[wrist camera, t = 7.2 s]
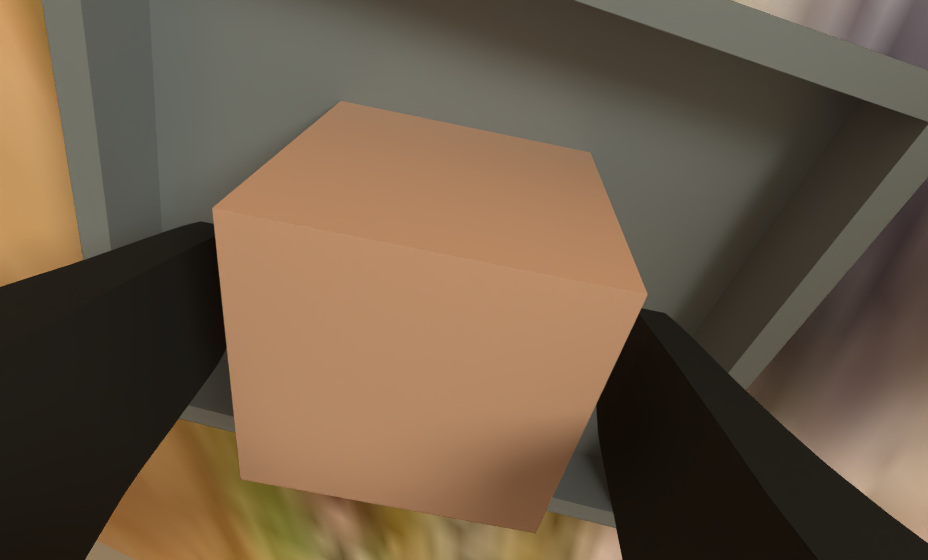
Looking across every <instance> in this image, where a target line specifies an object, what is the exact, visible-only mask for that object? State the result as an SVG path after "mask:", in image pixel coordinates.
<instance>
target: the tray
mask: <svg viewBox="0 0 928 560" xmlns="http://www.w3.org/2000/svg"><path fill="white" fill-rule="evenodd" d="M42 5H43V11H44V17H45V23H46V30H47V36H48V42H49V48H50V55H51V61H52V67H53V73H54V80H55V86H56V92H57V98H58V105H59V111H60V117H61V123H62V129H63V136H64V142H65V148H66V154H67V161H68V167H69V173H70V179H71V186H72V192H73V198H74V204H75V210H76V217H77V223H78V229H79V235H80V242H81V248H82V254H83V260H85V259H88V258H91V257H94V256H97V255H99V254H102V253H105V252H108V251H111V250H114V249H117V248H119V247H122V246H125V245H128V244H131V243H134V242H136V241H139V240H142V239H145V238H148V237H151V236H153V235H156V234H159V233H162V232H165V231H168V230H171V229H174V228H177V227H181V226H184V225H187V224H191V223H195V222H199V221H202V222H207V223H212V224H214V220H213V211H212V208H213V207H214V206H215V205H216V204H218V203H219V202H220V201H221V200H222V199H224V198H225V197H226V196H227V195H228V194H230V193H231V192H232V191H233V190H234V189H236V188H237V187H238V186H239V185H240V184H242V183H243V182H244V181H245V180H246V179H248V178H249V177H250V176H251V175H252V174H254V173H255V172H256V171H257V170H258V169H260V168H261V167H262V166H263V165H264V164H266V163H267V162H268V161H269V160H270V159H272V158H273V157H274V156H275V155H276V154H278V153H279V152H280V151H281V150H282V149H284V148H285V147H286V146H287V145H288V144H290V143H291V142H292V141H293V140H294V139H296V138H297V137H298V136H299V135H300V134H302V133H303V132H304V131H305V130H306V129H308V128H309V127H310V126H311V125H312V124H314V123H315V122H316V121H317V120H318V119H320V118H321V117H322V116H323V115H324V114H326V113H327V112H328V111H329V110H330V109H332V108H333V107H334V106H335V105H336V104H338V103H339V102H340V101H344V102H349V103H354V104H359V105H364V106H368V107H373V108H378V109H383V110H388V111H392V112H397V113H402V114H407V115H412V116H417V117H421V118H426V119H431V120H436V121H441V122H446V123H450V124H455V125H460V126H465V127H470V128H475V129H479V130H484V131H489V132H494V133H499V134H504V135H508V136H513V137H518V138H523V139H528V140H532V141H537V142H542V143H547V144H552V145H557V146H561V147H566V148H571V149H576V150H581V151H586V152H590V153H591V155H592V158H593V160H594V163H595V165H596V168H597V170H598V173H599V175H600V178H601V180H602V182H603V185H604V187H605V190H606V192H607V195H608V197H609V200H610V202H611V205H612V207H613V210H614V212H615V215H616V217H617V220H618V222H619V225H620V227H621V230H622V232H623V235H624V237H625V240H626V242H627V244H628V247H629V249H630V252H631V254H632V257H633V259H634V262H635V264H636V267H637V269H638V272H639V274H640V277H641V279H642V282H643V284H644V287H645V289H646V292H647V294H648V295H647V297H646V299H645V302H644V304H643V306H642V308H643V309H648V310H653V311H658V312H663V313H666V314H667V315H668V316H669V317H671V318H672V319H673V320H674V321H675V322H676V323H677V324H679V325H680V326H681V327H682V328H683V329H684V330H685V331H686V332H687V333H688V334H689V335H690V336H691V337H692V338H693V339H694V340H695V341H696V342H697V343H698V344H699V345H700V346H701V347H702V348H703V349H704V350H705V351H706V352H707V353H708V354H709V355H710V356H711V357H712V358H713V359H714V360H715V361H716V362H717V363H718V364H719V365H720V366H721V367H722V368H723V369H724V370H725V371H726V372H727V373H728V374H729V375H730V376H731V377H732V378H733V379H734V380H735V381H736V382H737V383H739V384H740V385H741V386H742V387H743V388H744V389H745V390H747V388H748V387H749V386H750V385H751V384H752V383H753V381H754V380H755V379H756V378H757V377H758V376H759V374H760V373H761V372H762V371H763V370H764V368H765V367H766V366H767V365H768V364H769V363H770V361H771V360H772V359H773V358H774V357H775V356H776V354H777V353H778V352H779V351H780V350H781V349H782V347H783V346H784V345H785V344H786V343H787V342H788V340H789V339H790V338H791V337H792V336H793V335H794V333H795V332H796V331H797V330H798V329H799V327H800V326H801V325H802V324H803V323H804V322H805V320H806V319H807V318H808V317H809V316H810V315H811V313H812V312H813V311H814V310H815V309H816V308H817V306H818V305H819V304H820V303H821V302H822V301H823V299H824V298H825V297H826V296H827V295H828V294H829V292H830V291H831V290H832V289H833V288H834V287H835V285H836V284H837V283H838V282H839V281H840V279H841V278H842V277H843V276H844V275H845V274H846V272H847V271H848V270H849V269H850V268H851V267H852V265H853V264H854V263H855V262H856V261H857V260H858V258H859V257H860V256H861V255H862V254H863V253H864V251H865V250H866V249H867V248H868V247H869V246H870V244H871V243H872V242H873V241H874V240H875V239H876V237H877V236H878V235H879V234H880V233H881V231H882V230H883V229H884V228H885V227H886V226H887V224H888V223H889V222H890V221H891V220H892V219H893V217H894V216H895V215H896V214H897V213H898V212H899V210H900V209H901V208H902V207H903V206H904V205H905V203H906V202H907V201H908V200H909V199H910V198H911V196H912V195H913V194H914V193H915V192H916V191H917V189H918V188H919V187H920V186H921V185H922V183H923V182H924V181H925V180H926V179H927V178H928V70H926V69H923V68H920V67H917V66H915V65H912V64H909V63H906V62H903V61H900V60H898V59H895V58H892V57H889V56H886V55H883V54H881V53H878V52H875V51H872V50H869V49H867V48H864V47H861V46H858V45H855V44H852V43H850V42H847V41H844V40H841V39H838V38H835V37H833V36H830V35H827V34H824V33H821V32H818V31H816V30H813V29H810V28H807V27H804V26H802V25H799V24H796V23H793V22H790V21H787V20H785V19H782V18H779V17H776V16H773V15H770V14H768V13H765V12H762V11H759V10H756V9H754V8H751V7H748V6H745V5H742V4H739V3H737V2H734V1H731V0H42ZM179 419H183V420H187V421H191V422H195V423H199V424H203V425H207V426H211V427H215V428H219V429H223V430H227V431H231V432H235V433H236V430H235V421H234V411H233V402H232V392H231V383H230V373H229V364H228V354H227V349H226V351H225V353H224V354H223V356H222V358H221V360H220V362H219V363H218V365H217V366H216V368H215V369H214V371H213V372H212V374H211V375H210V376H209V378H208V379H207V380H206V382H205V383H204V385H203V386H202V387H201V389H200V390H199V392H198V393H197V394H196V396H195V397H194V398H193V400H192V401H191V403H190V404H189V405H188V407H187V408H186V409H185V411H184V412H183V413H182V415H181V416H180V417H179ZM546 511H550V512H554V513H558V514H562V515H566V516H570V517H574V518H578V519H582V520H586V521H590V522H594V523H598V524H602V525H606V526H610V527H614V528H616V524H615V519H614V514H613V509H612V504H611V499H610V494H609V490H608V485H607V480H606V475H605V469H604V464H603V459H602V454H601V449H600V443H599V438H598V426H597V411H596V406H595V408H594V410H593V412H592V414H591V416H590V418H589V421H588V423H587V425H586V427H585V429H584V431H583V433H582V436H581V438H580V440H579V442H578V444H577V446H576V448H575V450H574V453H573V455H572V457H571V459H570V461H569V463H568V465H567V467H566V470H565V472H564V474H563V476H562V478H561V480H560V482H559V484H558V487H557V489H556V491H555V493H554V495H553V497H552V499H551V501H550V504H549V506H548V508H547V510H546Z"/></svg>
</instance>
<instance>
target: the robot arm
mask: <svg viewBox="0 0 928 560" xmlns="http://www.w3.org/2000/svg"><path fill="white" fill-rule="evenodd" d="M226 349H227V344H226V335H225V325H224V316H223V306H222V297H221V287H220V278H219V268H218V258H217V249H216V239H215V230H214V224H212V223H207V222H202V221H199V222H195V223H191V224H187V225H184V226H181V227H177V228H174V229H171V230H168V231H165V232H162V233H159V234H156V235H153V236H151V237H148V238H145V239H142V240H139V241H136V242H134V243H131V244H128V245H125V246H122V247H119V248H117V249H114V250H111V251H108V252H105V253H102V254H99V255H97V256H94V257H91V258H88V259H85V260H82V261H80V262H77V263H74V264H71V265H68V266H65V267H61V268H58V269H55V270H52V271H49V272H46V273H43V274H39V275H36V276H33V277H30V278H27V279H24V280H21V281H18V282H14V283H11V284H8V285H5V286H2V287H0V560H85V559H86V557H87V555H88V553H89V552H90V550H91V548H92V547H93V545H94V543H95V542H96V540H97V538H98V537H99V535H100V533H101V532H102V530H103V528H104V527H105V525H106V523H107V522H108V520H109V518H110V517H111V515H112V513H113V512H114V510H115V508H116V507H117V505H118V503H119V502H120V500H121V498H122V497H123V495H124V494H125V492H126V491H127V489H128V488H129V486H130V485H131V483H132V482H133V480H134V479H135V477H136V476H137V475H138V473H139V472H140V470H141V469H142V467H143V466H144V465H145V463H146V462H147V461H148V459H149V458H150V457H151V455H152V454H153V453H154V451H155V450H156V448H157V447H158V446H159V444H160V443H161V442H162V440H163V439H164V438H165V436H166V435H167V434H168V432H169V431H170V430H171V428H172V427H173V425H174V424H175V423H176V421H177V420H178V419H179V417H180V416H181V415H182V413H183V412H184V411H185V409H186V408H187V407H188V405H189V404H190V403H191V401H192V400H193V398H194V397H195V396H196V394H197V393H198V392H199V390H200V389H201V387H202V386H203V385H204V383H205V382H206V380H207V379H208V378H209V376H210V375H211V374H212V372H213V371H214V369H215V368H216V366H217V365H218V363H219V362H220V360H221V358H222V356H223V354H224V353H225V351H226ZM596 411H597V426H598V438H599V443H600V449H601V454H602V459H603V464H604V469H605V475H606V480H607V485H608V490H609V494H610V499H611V504H612V509H613V514H614V519H615V524H616V529H617V534H618V539H619V544H620V549H621V554H622V559H623V560H928V543H927V542H926V541H924V540H923V539H921V538H920V537H919V536H917V535H916V534H915V533H913V532H912V531H911V530H909V529H908V528H907V527H905V526H904V525H903V524H901V523H900V522H899V521H897V520H896V519H895V518H893V517H892V516H891V515H889V514H888V513H887V512H886V511H884V510H883V509H882V508H881V507H879V506H878V505H877V504H876V503H874V502H873V501H872V500H871V499H869V498H868V497H867V496H865V495H864V494H863V493H862V492H860V491H859V490H858V489H857V488H855V487H854V486H853V485H852V484H850V483H849V482H848V481H847V480H845V479H844V478H843V477H842V476H840V475H839V474H838V473H837V472H836V471H834V470H833V469H832V468H831V467H830V466H828V465H827V464H826V463H825V462H824V461H822V460H821V459H820V458H819V457H818V456H817V455H815V454H814V453H813V452H812V451H811V450H810V449H809V448H808V447H806V446H805V445H804V444H803V443H802V442H801V441H800V440H799V439H797V438H796V437H795V436H794V435H793V434H792V433H791V432H790V431H788V430H787V429H786V428H785V427H784V426H783V425H782V424H781V423H780V422H778V421H777V420H776V419H775V418H774V417H773V416H772V415H771V414H770V413H769V412H768V411H767V410H766V409H765V408H763V407H762V406H761V405H760V404H759V403H758V402H757V401H756V400H755V399H754V398H753V397H752V396H751V395H750V394H749V393H748V392H747V391H746V390H745V389H744V388H743V387H742V386H741V385H740V384H739V383H737V382H736V381H735V380H734V379H733V378H732V377H731V376H730V375H729V374H728V373H727V372H726V371H725V370H724V369H723V368H722V367H721V366H720V365H719V364H718V363H717V362H716V361H715V360H714V359H713V358H712V357H711V356H710V355H709V354H708V353H707V352H706V351H705V350H704V349H703V348H702V347H701V346H700V345H699V344H698V343H697V342H696V341H695V340H694V339H693V338H692V337H691V336H690V335H689V334H688V333H687V332H686V331H685V330H684V329H683V328H682V327H681V326H680V325H679V324H677V323H676V322H675V321H674V320H673V319H672V318H671V317H669V316H668V315H667V314H666V313H663V312H658V311H653V310H648V309H643V308H641V310H640V312H639V314H638V316H637V319H636V321H635V323H634V325H633V327H632V329H631V331H630V333H629V336H628V338H627V340H626V342H625V344H624V346H623V348H622V350H621V353H620V355H619V357H618V359H617V361H616V363H615V365H614V367H613V370H612V372H611V374H610V376H609V378H608V380H607V382H606V384H605V387H604V389H603V391H602V393H601V395H600V397H599V399H598V401H597V404H596Z"/></svg>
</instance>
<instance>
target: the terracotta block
mask: <svg viewBox="0 0 928 560" xmlns="http://www.w3.org/2000/svg"><path fill="white" fill-rule="evenodd" d="M212 211H213V220H214V230H215V239H216V249H217V258H218V268H219V278H220V287H221V297H222V306H223V316H224V325H225V335H226V344H227V354H228V364H229V373H230V383H231V392H232V402H233V411H234V421H235V430H236V440H237V450H238V459H239V469H240V478H241V479H242V480H247V481H252V482H258V483H263V484H269V485H274V486H280V487H285V488H291V489H296V490H302V491H307V492H313V493H318V494H324V495H329V496H335V497H340V498H345V499H351V500H356V501H362V502H367V503H373V504H378V505H384V506H389V507H395V508H400V509H406V510H411V511H417V512H422V513H428V514H433V515H438V516H444V517H449V518H455V519H460V520H466V521H471V522H477V523H482V524H488V525H493V526H499V527H504V528H510V529H515V530H521V531H526V532H531V533H536V531H537V529H538V527H539V525H540V523H541V521H542V518H543V516H544V514H545V512H546V510H547V508H548V506H549V504H550V501H551V499H552V497H553V495H554V493H555V491H556V489H557V487H558V484H559V482H560V480H561V478H562V476H563V474H564V472H565V470H566V467H567V465H568V463H569V461H570V459H571V457H572V455H573V453H574V450H575V448H576V446H577V444H578V442H579V440H580V438H581V436H582V433H583V431H584V429H585V427H586V425H587V423H588V421H589V418H590V416H591V414H592V412H593V410H594V408H595V406H596V404H597V401H598V399H599V397H600V395H601V393H602V391H603V389H604V387H605V384H606V382H607V380H608V378H609V376H610V374H611V372H612V370H613V367H614V365H615V363H616V361H617V359H618V357H619V355H620V353H621V350H622V348H623V346H624V344H625V342H626V340H627V338H628V336H629V333H630V331H631V329H632V327H633V325H634V323H635V321H636V319H637V316H638V314H639V312H640V310H641V308H642V306H643V304H644V302H645V299H646V297H647V295H648V294H647V292H646V289H645V287H644V284H643V282H642V279H641V277H640V274H639V272H638V269H637V267H636V264H635V262H634V259H633V257H632V254H631V252H630V249H629V247H628V244H627V242H626V240H625V237H624V235H623V232H622V230H621V227H620V225H619V222H618V220H617V217H616V215H615V212H614V210H613V207H612V205H611V202H610V200H609V197H608V195H607V192H606V190H605V187H604V185H603V182H602V180H601V178H600V175H599V173H598V170H597V168H596V165H595V163H594V160H593V158H592V155H591V153H590V152H586V151H581V150H576V149H571V148H566V147H561V146H557V145H552V144H547V143H542V142H537V141H532V140H528V139H523V138H518V137H513V136H508V135H504V134H499V133H494V132H489V131H484V130H479V129H475V128H470V127H465V126H460V125H455V124H450V123H446V122H441V121H436V120H431V119H426V118H421V117H417V116H412V115H407V114H402V113H397V112H392V111H388V110H383V109H378V108H373V107H368V106H364V105H359V104H354V103H349V102H344V101H340V102H339V103H338V104H336V105H335V106H334V107H333V108H332V109H330V110H329V111H328V112H327V113H326V114H324V115H323V116H322V117H321V118H320V119H318V120H317V121H316V122H315V123H314V124H312V125H311V126H310V127H309V128H308V129H306V130H305V131H304V132H303V133H302V134H300V135H299V136H298V137H297V138H296V139H294V140H293V141H292V142H291V143H290V144H288V145H287V146H286V147H285V148H284V149H282V150H281V151H280V152H279V153H278V154H276V155H275V156H274V157H273V158H272V159H270V160H269V161H268V162H267V163H266V164H264V165H263V166H262V167H261V168H260V169H258V170H257V171H256V172H255V173H254V174H252V175H251V176H250V177H249V178H248V179H246V180H245V181H244V182H243V183H242V184H240V185H239V186H238V187H237V188H236V189H234V190H233V191H232V192H231V193H230V194H228V195H227V196H226V197H225V198H224V199H222V200H221V201H220V202H219V203H218V204H216V205H215V206H214V207H213V208H212Z"/></svg>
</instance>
